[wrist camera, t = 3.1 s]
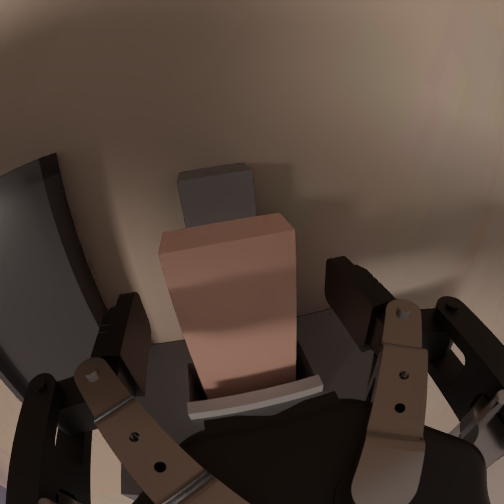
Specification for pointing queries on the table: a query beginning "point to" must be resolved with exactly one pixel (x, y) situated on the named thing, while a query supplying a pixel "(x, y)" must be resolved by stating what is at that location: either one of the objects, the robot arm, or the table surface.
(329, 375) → the dispenser
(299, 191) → the table surface
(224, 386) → the pink block
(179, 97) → the table surface
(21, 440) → the robot arm
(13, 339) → the tray
